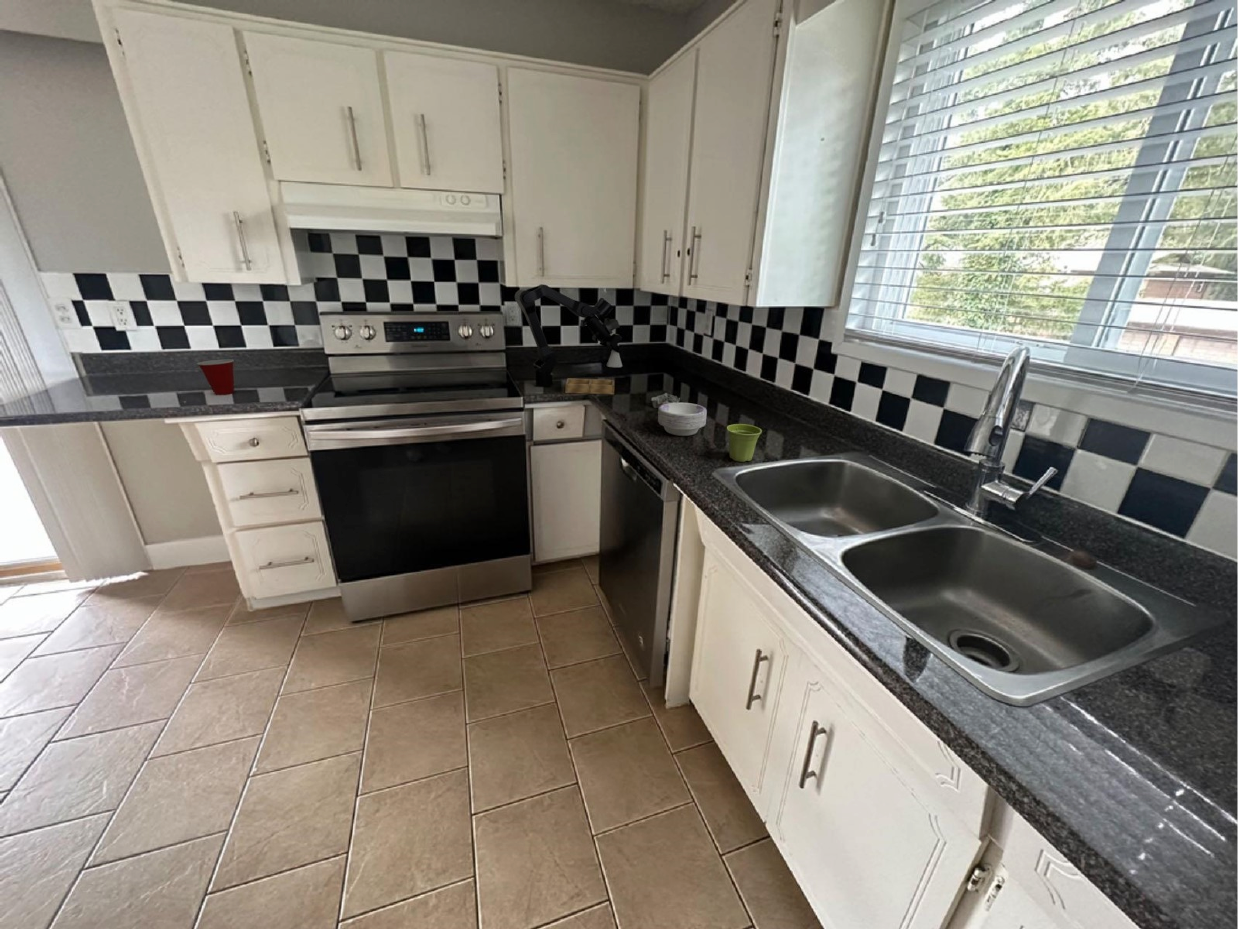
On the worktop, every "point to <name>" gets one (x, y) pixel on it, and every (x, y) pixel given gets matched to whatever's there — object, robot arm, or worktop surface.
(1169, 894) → the worktop surface
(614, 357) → the flask
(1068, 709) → the worktop surface
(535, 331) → the robot arm
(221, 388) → the plastic cup
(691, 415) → the paper bowls
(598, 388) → the wooden divided tray
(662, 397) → the egg carton
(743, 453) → the plant pot
